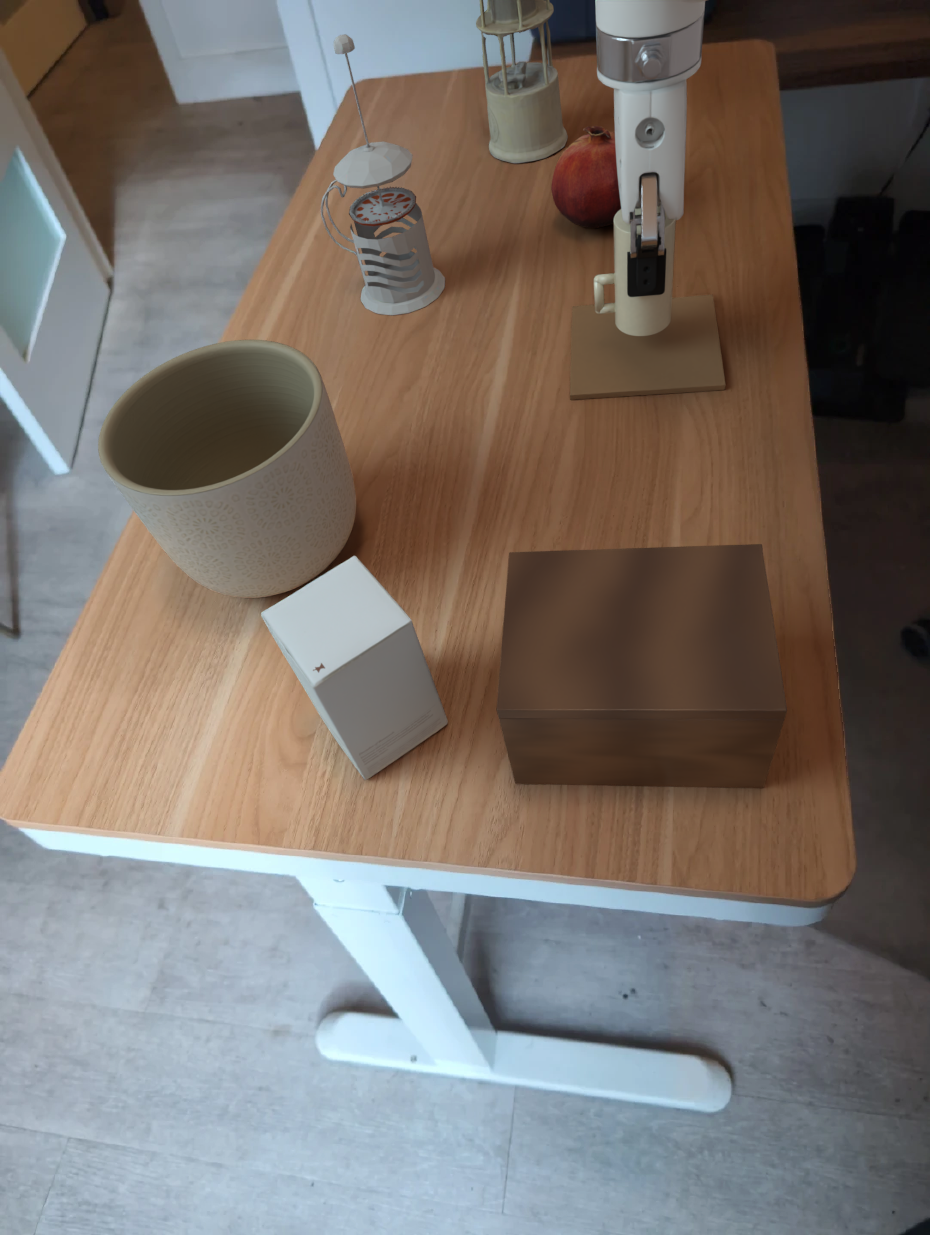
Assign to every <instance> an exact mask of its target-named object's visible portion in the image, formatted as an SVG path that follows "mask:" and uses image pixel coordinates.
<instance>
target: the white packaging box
mask: <svg viewBox="0 0 930 1235" xmlns="http://www.w3.org/2000/svg"><path fill="white" fill-rule="evenodd" d="M260 616H261V619H262V620H263V622H264V624H265V625H266V627H267V629H268V631H269V634H270V635H271V636H272V638H273V641H274V642H275V643H276V645H277V646H278V649H279V650H280V651H281V653H282V655H283V656H284V658H285V660H286V662H287V663H288V664H289V667H290V668H291V670H292V671H293V673H294V674H295V676H296V678H297V679H298V681H299V683H300V684H301V686H302V688H303V689H304V691H305V693H306V694H307V696H308V698H309V700H310V701H311V703H312V705H313V707H314V708H315V710H316V712H317V713H318V715H319V717H320V719H321V720H322V721H323V723H324V724H325V727H326V728H327V729H328V731H329V732H330V734H331V736H332V737H333V738H334V740H335V741H336V743H337V744H338V745H339V747H340V748H341V749H342V751H343V753H344V754H345V755H346V757H347V758H348V759H349V761H350V762H351V764H352V765H353V766H354V767H355V769H356V771H357V772H358V773H359V775H360V776H361V777H362V779H363V780H364V781H367V780H369V779H370V778H371V777H374V776H375V775H377V774H378V773H379V772H381V771H383V769H385V768H387V767H388V766H390V765H391V764H392V763H394V762H396V761H397V760H399V759H400V758H401V757H403V756H404V755H406V754H407V753H408V752H410V751H411V750H413V749H414V748H416V747H417V746H419V745H420V744H421V743H423V742H424V741H426V740H427V739H429V738H430V737H431V736H433V735H434V734H436V733H437V732H439V731H441V729H442V728H444V727H445V726H446V725H448V722H449V720H448V717H447V714H446V712H445V710H444V706H443V703H442V700H441V698H440V696H439V692H438V689H437V687H436V684H435V681H434V678H433V675H432V673H431V670H430V667H429V665H428V662H427V659H426V657H425V654H424V651H423V648H422V645H421V643H420V639H419V637H418V634H417V631H416V628H415V626H414V623H413V619H412V618H411V617H410V616H409V615H408V614H407V612H406V611H405V610H404V609H403V607H402V606H401V605H400V604H399V603H398V602H397V601H396V600H395V598H394V597H393V596H392V594H390V593H389V591H388V590H387V589H386V588H385V587H384V586H383V585H382V583H381V582H380V581H379V580H378V579H377V577H375V576H374V575H373V573H372V572H371V571H370V569H368V568H367V567H366V565H365V564H364V563H363V562H362V561H361V560H360V559H359V558H358V557H357V556H356V555H353V556H351V557H350V558H348V559H346V560H345V561H343V562H342V563H340V564H338V565H336V566H334V567H333V568H332V569H330V570H328V571H327V572H325V573H323V574H322V575H320V576H318V577H317V578H314V579H313V580H312V581H310V582H309V583H307V584H306V585H304V586H303V587H301V588H300V589H298V590H296V591H295V592H293V593H292V594H290V595H289V596H287V597H285V598H283V599H282V600H280V601H278V602H276V603H274V604H273V605H271V606H270V607H268V608H266V609H265V610H263V611H261V613H260Z"/></svg>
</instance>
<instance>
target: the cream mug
mask: <svg viewBox="0 0 930 1235" xmlns="http://www.w3.org/2000/svg"><path fill="white" fill-rule="evenodd" d="M657 213H660V207H657ZM635 215H641V208H640V209H635ZM676 228H677V220H675V219H668V217H667V215H666V212H665V236H664V248H666V275H665V292H664V293H663V294H661V295H651V296H640V297H629V296H628V294H627V252H630V225H628V224H627V223H625V222H624V221H623V218H622V210H621V209H620V210H619V211H618V212H617V213H616V215H615V216H614V224H613V272H612V273H600V274H596V275H594V277H593V297H594V298H593V300H594V302H593V303H594V304H595V312H596V313H597V314H606V313H615V324H616V326H617V328H618V329H619V330H620V331H622V332H623V333H626V334H628V335H633V336H648V335H653V334H656V333H658V332H660V331H662V330H664V329H665V328H666V327H667V326H668V325H669V323H670V321H671V313H672V298H673V294H674V293H673V292H674V291H673V290H674V289H673V288H674V272H675V270H674V269H675V249H676V230H677V229H676ZM657 231H658V224H657ZM638 235H641V225H638V226H637V237H638ZM607 285H614V286H613V287H614V302H605V286H607ZM594 304H593V305H594Z"/></svg>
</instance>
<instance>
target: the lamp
mask: <svg viewBox="0 0 930 1235" xmlns="http://www.w3.org/2000/svg"><path fill="white" fill-rule="evenodd" d="M486 3H487V4H486V10H485V6H484V5H485V4H484V0H479V10H480V15H479V16H478V17H477V19H476V21H475V27H476V28H477V30H479V31H480V34H481V50H482V65H483V73H484V82H485V85H484V86H485V96H486V104H487V106H486V110H487V119H488V128H489V137H490V139H489V142H488V150H489V153H490V155H491V156H492V157H493V158H494V159H497V160H500V161H502V162H508V163H511V164H522V163H529V162H535V161H539V160H543V159H547V158H548V157H550V156H552V155H553V154H554V155H555V153H557V152H559V151H561V149H563V148H564V147H566V144H567V142H568V138H569V137H568V132H567V130H566V128H565V127H564V124H563V113H562V104H561V91H560V81H559V72H558V70H557V68H555V67H554V65H553V54H552V52H553V51H552V43H551V30H550V26H549V19H550V18H551V17H552V15H553V14H554V12H555V11H554V5H553V3H552V2H550V0H487V2H486ZM544 25H545V27H544ZM537 28H538V34H539V42H540V47H541V48H540V50H541V59H542V62H538V61H536V62H535V61H534V62H526V61H518V62H517V63H516V46H515V34H516V33H519V34H521V33H524V32H528V31H529V30H534V29H537ZM544 28H545V30H544ZM545 31H546V42H545ZM485 35H488V36H494V37H496V38H497V41H498V43H499V55H500V61H501V69H500V70H498V71H497V72H495V73H493V74H492V75H491V76H490V74H489V61H488V60H489V59H488V53H487V52H488V51H487V45H486V44H487V43H486V40H487V37H485ZM507 36H509V43H510V52H511V54H510V55H511V65H510V66H508V67H507V63H506V62H507V61H506V60H507V58H506V57H507V56H506V50H505V41H504V38H505V37H507Z"/></svg>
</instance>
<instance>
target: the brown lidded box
mask: <svg viewBox="0 0 930 1235" xmlns="http://www.w3.org/2000/svg"><path fill="white" fill-rule="evenodd" d="M766 570H767V569H766V562H765V557H764V550H763V545H762V544H761V543H752V544H749V543H748V544H722V545H721V544H719V545H717V544H716V545H691V546H690V545H689V546H659V547H631V548H630V547H629V548H627V547H626V548H605V549H604V548H599V549H598V548H597V549H569V550H566V549H565V550H539V551H538V550H537V551H535V550H534V551H510V552H508V560H507V572H506V583H505V584H506V586H505V598H504V612H503V623H502V624H503V625H502V634H501V635H502V636H501V637H502V639H501V648H500V649H501V650H500V660H499V661H500V662H499V674H498V685H497V686H498V687H497V701H496V714H497V716H498V721H499V725H500V729H501V733H502V737H503V742H504V745H505V749H506V753H507V756H508V761H509V765H510V768H511V772H512V776H513V780H514V784H515V785H517V784H518V785H561V786H562V785H563V786H565V785H568V786H569V785H570V786H576V785H577V786H620V787H623V786H624V787H627V786H628V787H674V788H675V787H677V788H679V787H681V788H683V787H684V788H733V789H734V788H735V789H737V788H738V789H764V788H765V784H766V781H767V778H768V775H769V771H770V768H771V765H772V762H773V758H774V755H775V752H776V749H777V745H778V741H779V739H780V736H781V731H782V729H783V725H784V723H785V718H786V715H787V711H788V707H787V701H786V695H785V694H786V693H785V687H784V681H783V676H782V669H781V660H780V655H779V647H778V642H777V634H776V629H775V628H776V627H775V621H774V616H773V609H772V603H771V595H770V589H769V583H768V577H767V576H768V575H767V571H766Z"/></svg>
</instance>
